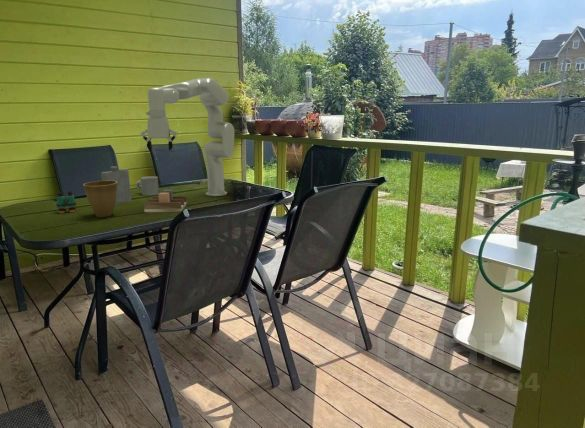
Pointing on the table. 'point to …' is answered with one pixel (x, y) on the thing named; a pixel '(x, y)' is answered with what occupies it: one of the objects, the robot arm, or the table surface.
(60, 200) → the binoculars
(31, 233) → the table surface
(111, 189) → the plant pot
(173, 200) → the cream shelf rack
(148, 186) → the coffee mug
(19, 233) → the table surface
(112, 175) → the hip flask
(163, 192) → the grey plug block
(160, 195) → the terracotta plug block
